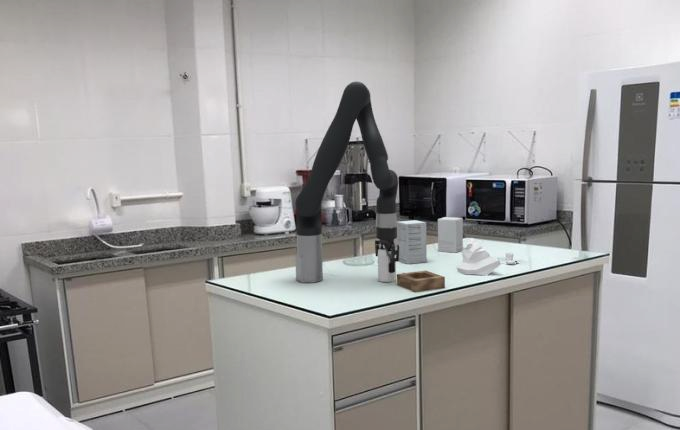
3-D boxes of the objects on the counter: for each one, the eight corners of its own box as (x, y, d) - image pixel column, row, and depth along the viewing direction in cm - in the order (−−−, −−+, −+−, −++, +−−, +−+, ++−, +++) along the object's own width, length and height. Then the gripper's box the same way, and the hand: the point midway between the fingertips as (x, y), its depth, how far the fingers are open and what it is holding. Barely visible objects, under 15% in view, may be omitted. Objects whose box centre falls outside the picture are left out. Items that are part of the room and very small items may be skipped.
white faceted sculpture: (474, 282, 217) (463, 245, 216) (455, 276, 231) (445, 242, 230) (502, 270, 220) (492, 234, 219) (482, 266, 235) (472, 232, 233)
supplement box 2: (463, 249, 272) (463, 217, 271) (456, 253, 265) (456, 219, 263) (444, 248, 277) (444, 216, 275) (437, 251, 270) (437, 218, 268)
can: (395, 283, 212) (394, 249, 210) (377, 282, 213) (376, 249, 211) (396, 278, 218) (396, 246, 216) (379, 278, 219) (379, 246, 218)
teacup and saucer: (514, 266, 236) (514, 256, 236) (495, 264, 241) (495, 254, 240) (522, 262, 243) (522, 253, 242) (503, 260, 248) (504, 251, 247)
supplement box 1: (427, 262, 246) (427, 222, 244) (407, 264, 243) (407, 223, 240) (416, 258, 255) (415, 219, 253) (396, 260, 251) (396, 221, 249)
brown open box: (414, 292, 198) (414, 281, 198) (396, 284, 209) (396, 274, 209) (444, 287, 203) (444, 276, 203) (425, 280, 214) (425, 270, 214)
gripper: (367, 223, 218) (368, 268, 220) (387, 228, 205) (387, 275, 207) (385, 222, 221) (386, 266, 223) (405, 226, 208) (406, 273, 210)
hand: (387, 270), depth 215 cm, fingers closed on can, 6 cm apart
